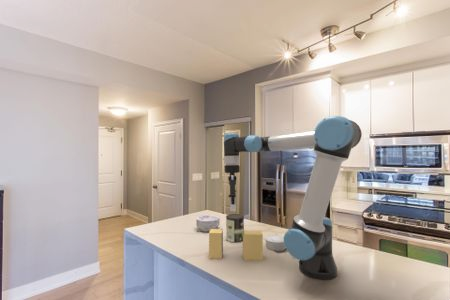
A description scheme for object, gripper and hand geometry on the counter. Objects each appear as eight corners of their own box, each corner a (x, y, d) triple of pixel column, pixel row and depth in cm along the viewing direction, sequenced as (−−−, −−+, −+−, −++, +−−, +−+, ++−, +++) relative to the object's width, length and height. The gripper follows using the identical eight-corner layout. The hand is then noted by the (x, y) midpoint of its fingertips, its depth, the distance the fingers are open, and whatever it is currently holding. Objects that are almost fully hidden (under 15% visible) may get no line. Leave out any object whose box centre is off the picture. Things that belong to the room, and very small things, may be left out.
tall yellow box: (261, 255, 113) (261, 230, 113) (262, 260, 107) (262, 234, 107) (242, 254, 113) (242, 230, 113) (243, 260, 108) (242, 233, 108)
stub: (222, 253, 114) (222, 229, 114) (221, 258, 108) (221, 233, 109) (210, 253, 114) (210, 229, 114) (209, 258, 109) (209, 232, 109)
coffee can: (245, 238, 137) (244, 214, 138) (242, 244, 127) (242, 219, 127) (228, 236, 139) (227, 213, 140) (224, 243, 129) (224, 218, 129)
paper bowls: (206, 224, 163) (206, 213, 164) (224, 228, 155) (224, 216, 155) (191, 230, 151) (191, 218, 151) (209, 235, 142) (209, 222, 142)
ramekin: (261, 248, 122) (261, 238, 122) (272, 242, 130) (272, 233, 131) (280, 254, 115) (280, 244, 115) (290, 248, 123) (290, 238, 123)
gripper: (225, 164, 127) (226, 203, 126) (223, 165, 102) (224, 214, 101) (238, 163, 127) (239, 202, 126) (240, 165, 102) (241, 214, 101)
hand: (233, 208), depth 114 cm, fingers open, 13 cm apart
